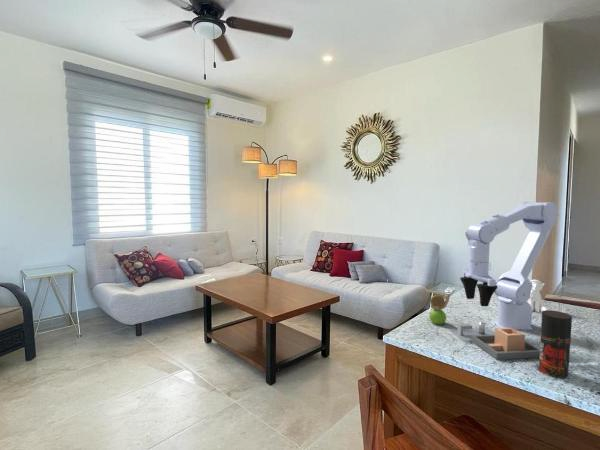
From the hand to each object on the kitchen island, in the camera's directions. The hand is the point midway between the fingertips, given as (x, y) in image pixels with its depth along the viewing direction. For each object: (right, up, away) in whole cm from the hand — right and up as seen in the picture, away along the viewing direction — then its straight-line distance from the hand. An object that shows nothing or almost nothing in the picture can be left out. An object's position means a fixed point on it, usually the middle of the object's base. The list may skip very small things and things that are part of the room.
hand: (477, 302), depth 109 cm
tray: (+1, -11, -13) cm, 17 cm away
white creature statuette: (+33, -8, +22) cm, 41 cm away
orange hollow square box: (+1, -10, -13) cm, 17 cm away
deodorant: (+6, -12, -25) cm, 28 cm away
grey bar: (-3, -10, -3) cm, 10 cm away
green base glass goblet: (-10, -10, +7) cm, 15 cm away
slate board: (-2, -10, -2) cm, 11 cm away
